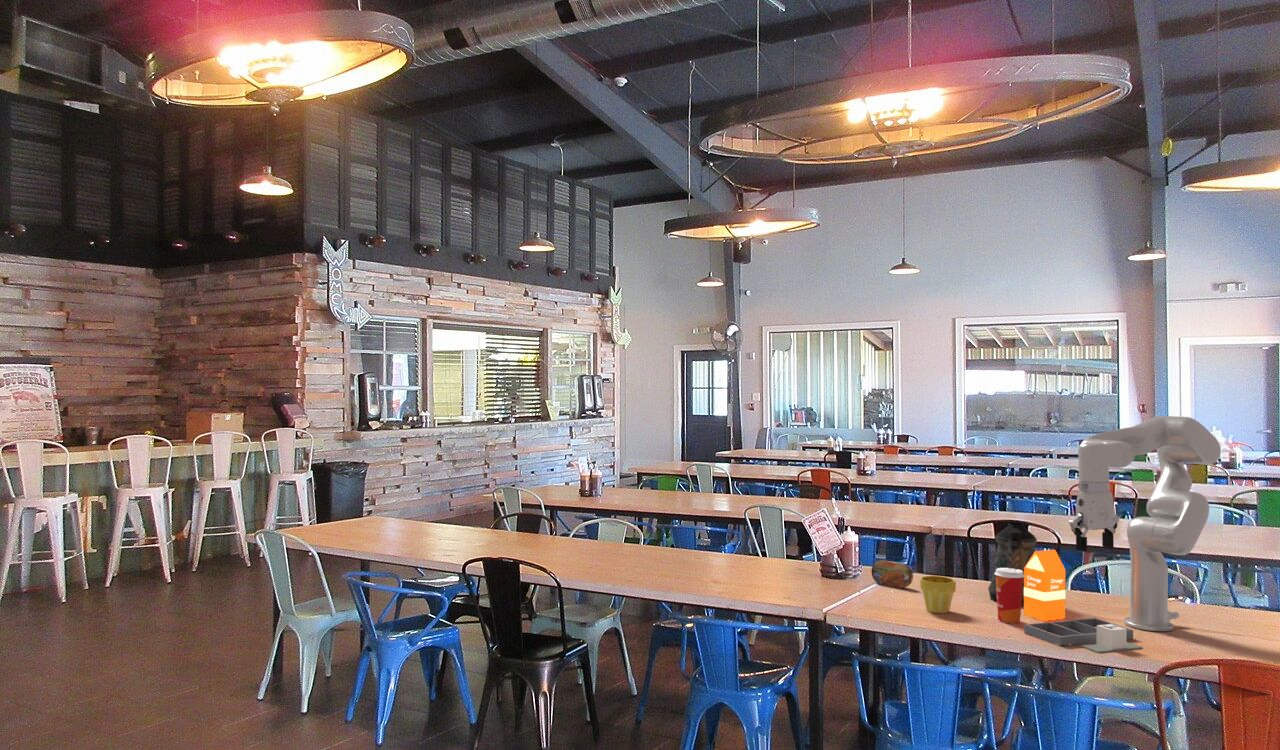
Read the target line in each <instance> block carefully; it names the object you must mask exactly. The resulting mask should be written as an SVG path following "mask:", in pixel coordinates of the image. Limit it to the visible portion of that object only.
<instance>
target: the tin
mask: <svg viewBox="0 0 1280 750" xmlns="http://www.w3.org/2000/svg"><path fill="white" fill-rule="evenodd" d="M870 572H871V575H872V578H873V580H874V581H875V582H876V584H879V585H880V586H881V585H882V586H887V587H893V588H898V589H902V588H907V587H908V586H910V585H911V584H912V583H913V578H914V573H913V570H912V568H911V567H910V565H908V564H906V563H903V562H899V561H898V562H897V561H892V560H891V561H889V560H884V559H883V560H881V559H880V560H877V561H875V562H874V563H873V565H872V566H871V571H870Z"/></svg>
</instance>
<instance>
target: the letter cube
mask: <svg viewBox="0 0 1280 750" xmlns="http://www.w3.org/2000/svg"><path fill="white" fill-rule="evenodd" d="M1113 624H1114V623H1112V624H1107V625H1097V643H1096V644H1098V645H1101V646H1103V647H1106V648H1109V649H1120V648H1126V642H1127V640H1126V637H1127V629H1125V628H1126V627H1125V628H1122V627H1123V626H1122V627H1119V626H1120V625H1119V626H1116V625H1117V624H1116V625H1113Z"/></svg>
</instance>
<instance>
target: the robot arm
mask: <svg viewBox="0 0 1280 750" xmlns="http://www.w3.org/2000/svg"><path fill="white" fill-rule="evenodd" d="M1221 448H1222V447H1221V445H1220V442H1219V441H1218V439H1217V438H1216V436H1215V435H1214V434H1212V432H1210V430H1208V429H1207V428H1206V427H1205V426H1204V425H1203V424H1202V423H1201V422H1199V421H1198V420H1196V419H1195V418H1193V417H1189V416H1172V415H1171V416H1170V415H1159V416H1154V417H1151V418H1149V419H1147V420H1145V421H1143V422H1141V423H1138V424H1135V425H1133V426H1129V427H1124V428H1118V429H1114V430H1108V431H1102V432H1099V433H1096V434H1094V435H1091V436H1088V437H1087V438H1085V439H1084V440H1082V441H1081V443H1080V444H1079V446H1078V450H1077V454H1078V485H1077V487H1078V492H1077V497H1076V506H1075V516H1074V517H1073V518H1071V519H1070V520H1069V521H1068V524H1069V526H1070V528H1071V531H1072V532H1073V535H1074V536H1075V549H1076V550H1077V551H1080V552H1088V537H1087V536H1086V535H1087V533H1088V532H1089V531H1090V530H1091V531H1097V530H1098V531H1099V530H1102V532H1101V535H1102V536H1101V537H1102V540H1101V541H1102V542H1101V543H1102V547H1104V548H1109V549H1114V547H1115V546H1114V545H1115V544H1114V540H1115V539H1114V534H1116V529H1117V528H1118V524H1119V521H1120V516H1119V515H1117V514H1116V513H1115V504H1114V498H1113V494H1112V492H1111V491H1110V468H1114V469H1115V468H1118V469H1121V468H1122V469H1123V468H1125V467H1128V466H1130V465H1132V463H1133V462H1134V458H1135V456H1143V455H1147V454H1149V453H1152V452H1154V451H1155V450H1156V453H1157V458H1158V462H1159V466H1160V476H1159V478H1158V480H1157V482H1156V485H1155V486H1154V488H1153V490H1152V492H1151V494H1150V496H1149V498H1148V500H1147V502H1146V506H1145V507H1146V508H1145V509H1146V513H1147V514H1148V516H1137V517H1134V518H1132V519H1131V520H1130V521H1129V522H1128V524H1127V527H1126V537H1127V541H1128V545H1129V555H1130V556H1129V557H1130V577H1129V578H1130V585H1129V586H1130V589H1129V590H1130V593H1129V594H1130V595H1129V598H1130V600H1129V601H1130V602H1129V616H1128V617H1127V616H1126V617H1125V618H1124V619H1123V623H1124V624H1125V625H1126V626H1128V627H1131V628H1134V629H1137V630H1143V631H1144V630H1145V631H1150V632H1170V631H1172V630H1174V628H1175V627H1174V624H1173V623H1172V622H1171V619H1179V618H1180V613H1178V611H1171V612H1170V610H1169V609H1168V608H1169V607H1168V603H1169V601H1168V600H1169V598H1168V597H1169V595H1168V593H1169V590H1168V589H1169V583H1168V582H1169V580H1168V579H1169V578H1168V577H1169V568H1168V563H1167V561H1166V559H1165V557H1164V555H1163V553H1164V554H1169V555H1176V556H1187V555H1188V554H1190V553H1191V552H1192V551H1193V549H1194V548H1195V546H1196V544H1197V542H1198V540H1199V538H1200V535H1201V533H1202V531H1203V530H1204V528H1205V525H1206V523H1207V521H1208V519H1209V513H1210V504H1209V501H1208V499H1207V498H1206V497H1205V496H1204V495H1203V494H1201V493H1199V492H1195V491H1191V489H1192V486H1193V479H1192V477H1191V475H1190V473H1189V472H1188V470H1187V469H1186V468H1185V466H1184V464H1194V465H1195V464H1197V465H1213V464H1214V463H1215V464H1216V463H1217V462H1218V460H1219V459H1220V457H1221V453H1222V449H1221ZM1183 463H1184V464H1183Z"/></svg>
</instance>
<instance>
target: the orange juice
mask: <svg viewBox="0 0 1280 750" xmlns="http://www.w3.org/2000/svg"><path fill="white" fill-rule="evenodd" d="M1024 576H1025V577H1024V606H1023V616H1024V615H1026V616H1025V617H1027V616H1029V617H1028V618H1031V617H1033V618H1032V619H1034V618H1036V619H1035V620H1038V619H1039V620H1038V621H1041V620H1043V621H1042V622H1049V621H1048V620H1051V621H1057V620H1056V619H1059V620H1064V619H1063V618H1065V619H1066V568H1065V567H1064V564H1063V563H1062V561H1061V559H1060V556H1059V555H1058V552H1057V551H1056V549H1049V550H1048V549H1046V550H1035V553H1034V554H1033V556H1032V557H1031V559H1030V560H1029V562H1028V563H1027V565H1026V566H1025V567H1024Z"/></svg>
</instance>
